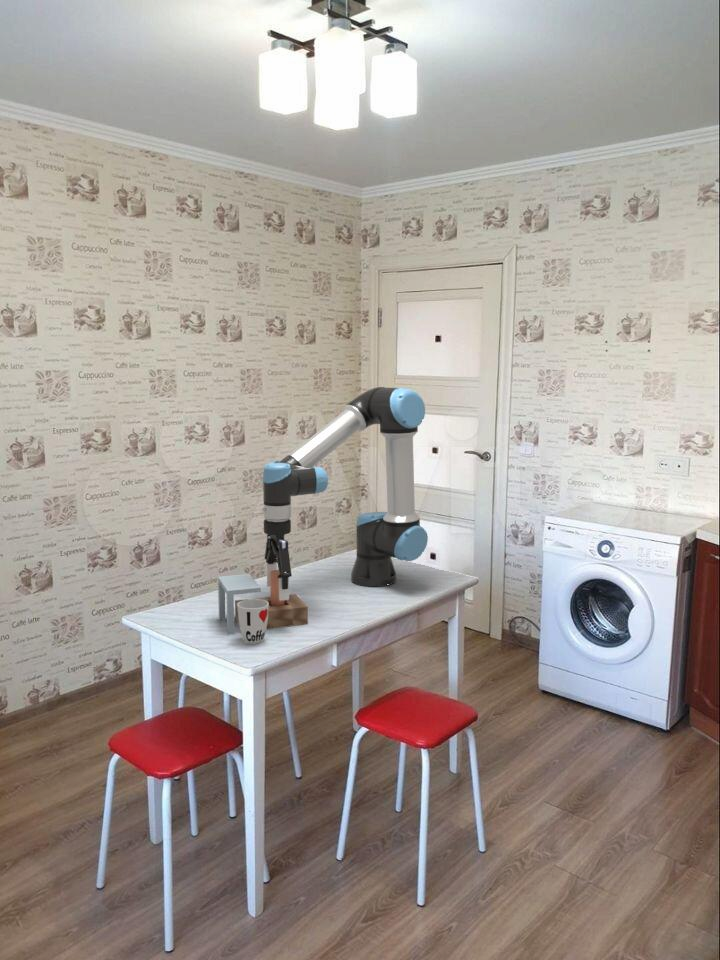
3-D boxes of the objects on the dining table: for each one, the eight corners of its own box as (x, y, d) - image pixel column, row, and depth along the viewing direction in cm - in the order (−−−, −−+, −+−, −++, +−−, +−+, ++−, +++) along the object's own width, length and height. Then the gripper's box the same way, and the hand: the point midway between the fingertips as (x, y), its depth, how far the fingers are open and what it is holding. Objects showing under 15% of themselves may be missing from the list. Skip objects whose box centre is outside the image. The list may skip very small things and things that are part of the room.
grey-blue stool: (249, 614, 219) (249, 573, 217) (261, 630, 206) (260, 587, 204) (218, 617, 216) (218, 576, 214) (228, 634, 203) (227, 590, 201)
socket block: (295, 610, 223) (295, 594, 222) (307, 623, 212) (307, 606, 211) (235, 617, 216) (234, 600, 216) (244, 631, 205) (243, 613, 205)
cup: (242, 647, 194) (241, 610, 192) (234, 637, 201) (233, 600, 200) (272, 643, 197) (272, 606, 196) (264, 632, 205) (263, 597, 203)
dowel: (282, 616, 217) (282, 569, 215) (286, 621, 214) (286, 573, 211) (269, 618, 216) (268, 570, 214) (272, 622, 212) (272, 574, 210)
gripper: (253, 511, 220) (254, 581, 224) (275, 529, 197) (275, 607, 201) (278, 509, 223) (279, 579, 226) (302, 527, 200) (303, 604, 203)
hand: (277, 592), depth 214 cm, fingers open, 13 cm apart
